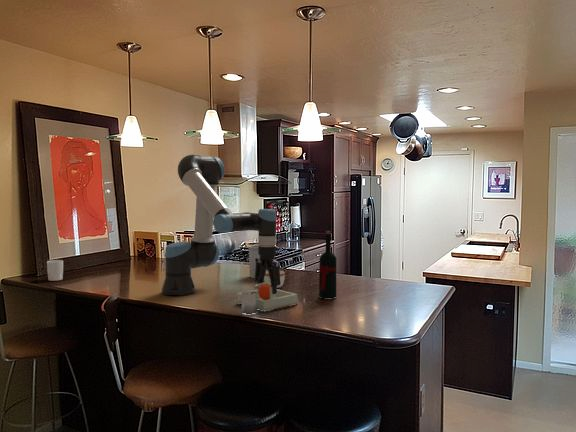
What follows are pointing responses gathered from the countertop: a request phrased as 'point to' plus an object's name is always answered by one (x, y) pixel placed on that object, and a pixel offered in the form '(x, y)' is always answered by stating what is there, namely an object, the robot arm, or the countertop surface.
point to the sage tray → (273, 300)
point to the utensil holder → (253, 259)
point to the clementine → (264, 291)
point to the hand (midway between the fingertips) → (267, 299)
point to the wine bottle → (327, 271)
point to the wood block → (256, 287)
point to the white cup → (55, 270)
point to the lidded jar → (282, 277)
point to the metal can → (249, 302)
